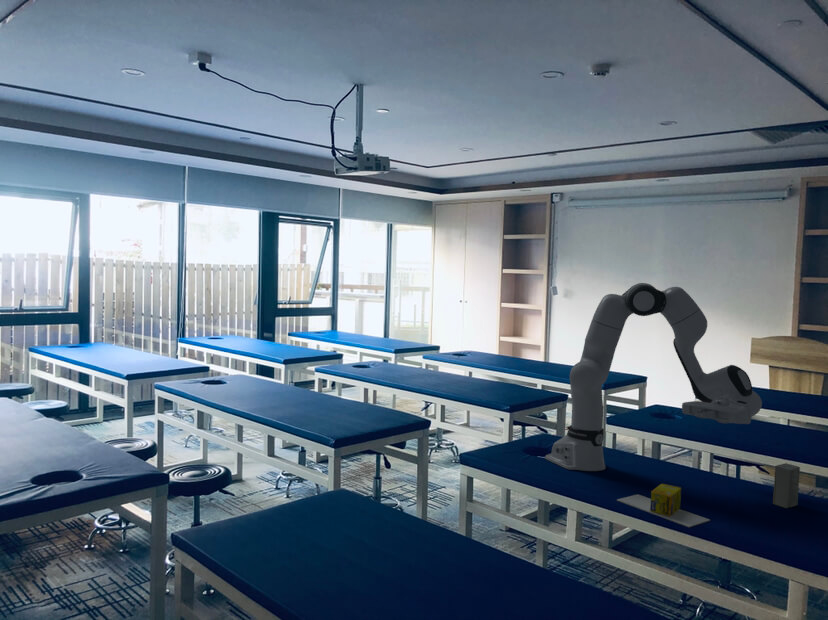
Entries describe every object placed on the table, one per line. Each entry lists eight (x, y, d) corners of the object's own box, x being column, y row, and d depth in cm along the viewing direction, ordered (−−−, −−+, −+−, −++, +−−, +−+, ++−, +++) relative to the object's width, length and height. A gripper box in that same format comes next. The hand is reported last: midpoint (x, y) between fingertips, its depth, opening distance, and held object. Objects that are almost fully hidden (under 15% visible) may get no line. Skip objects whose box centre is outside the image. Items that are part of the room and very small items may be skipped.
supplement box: (681, 506, 185) (671, 516, 177) (661, 501, 189) (649, 511, 180) (682, 487, 185) (671, 496, 176) (661, 482, 189) (650, 491, 180)
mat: (616, 500, 190) (616, 499, 190) (637, 495, 195) (637, 494, 195) (689, 527, 170) (689, 526, 170) (710, 520, 175) (710, 519, 175)
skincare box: (783, 501, 194) (786, 462, 194) (798, 505, 191) (800, 466, 190) (772, 504, 191) (774, 465, 191) (786, 508, 187) (789, 469, 187)
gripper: (696, 395, 212) (670, 400, 205) (755, 404, 195) (729, 410, 187) (696, 413, 212) (670, 419, 205) (755, 424, 195) (729, 431, 188)
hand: (699, 415), depth 196 cm, fingers closed
